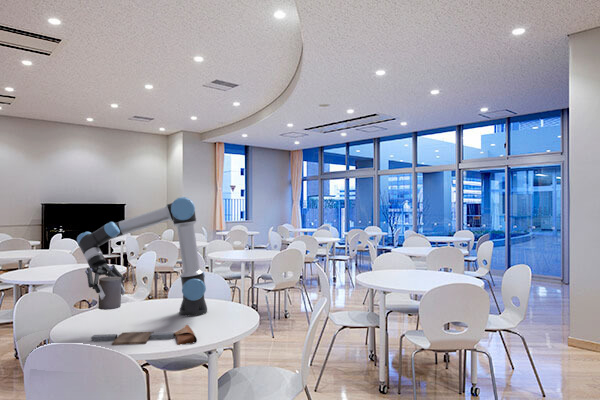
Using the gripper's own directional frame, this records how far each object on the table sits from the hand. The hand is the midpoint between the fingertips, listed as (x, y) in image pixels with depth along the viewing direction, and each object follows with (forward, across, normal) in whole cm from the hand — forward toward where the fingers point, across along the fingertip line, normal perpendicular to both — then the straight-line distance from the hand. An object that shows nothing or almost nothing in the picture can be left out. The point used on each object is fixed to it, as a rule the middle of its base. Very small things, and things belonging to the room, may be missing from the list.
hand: (113, 295), depth 188 cm
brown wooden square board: (+23, -1, -2) cm, 23 cm away
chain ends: (+23, -1, -2) cm, 23 cm away
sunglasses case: (+36, -14, +10) cm, 40 cm away
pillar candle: (+2, 0, -7) cm, 7 cm away
